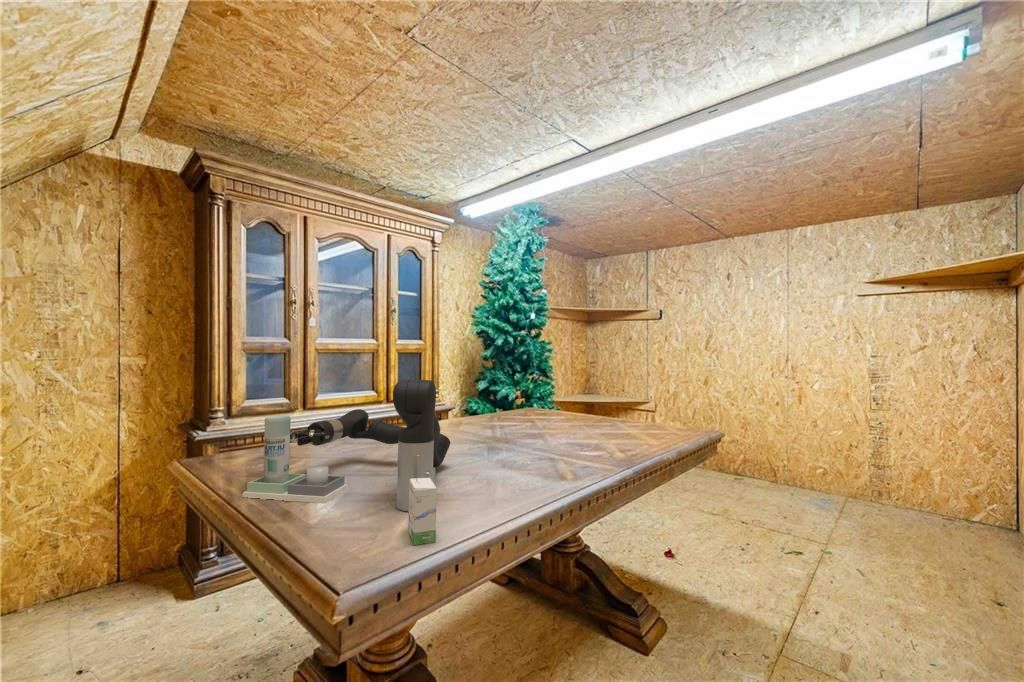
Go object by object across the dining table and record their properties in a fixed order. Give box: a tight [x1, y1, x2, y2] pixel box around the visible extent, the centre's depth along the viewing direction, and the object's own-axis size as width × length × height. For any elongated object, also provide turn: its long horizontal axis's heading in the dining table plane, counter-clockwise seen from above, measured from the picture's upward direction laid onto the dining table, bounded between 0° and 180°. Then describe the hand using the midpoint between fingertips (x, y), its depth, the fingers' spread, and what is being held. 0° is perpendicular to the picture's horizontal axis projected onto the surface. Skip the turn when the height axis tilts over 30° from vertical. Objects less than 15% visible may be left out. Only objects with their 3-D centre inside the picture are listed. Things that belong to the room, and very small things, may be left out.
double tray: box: [242, 465, 349, 504], centre depth 122 cm, size 24×12×8 cm, turn 83°
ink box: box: [407, 478, 438, 546], centre depth 95 cm, size 8×5×12 cm, turn 21°
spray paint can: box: [263, 414, 292, 484], centre depth 123 cm, size 6×6×20 cm
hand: (286, 441), depth 127 cm, fingers open, 8 cm apart
